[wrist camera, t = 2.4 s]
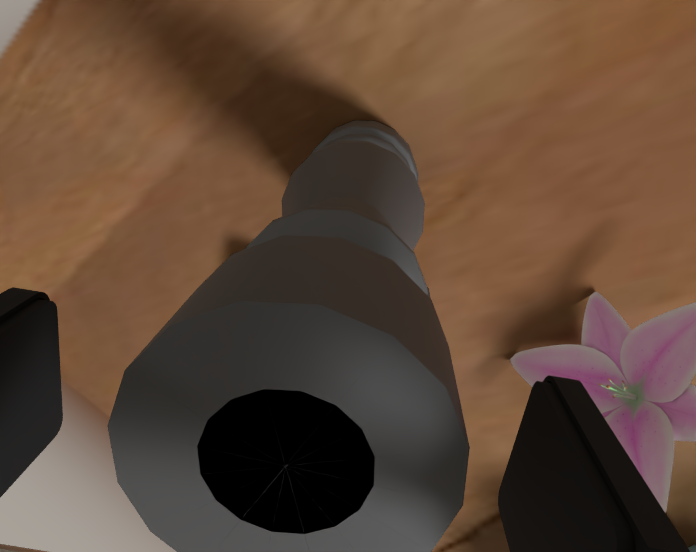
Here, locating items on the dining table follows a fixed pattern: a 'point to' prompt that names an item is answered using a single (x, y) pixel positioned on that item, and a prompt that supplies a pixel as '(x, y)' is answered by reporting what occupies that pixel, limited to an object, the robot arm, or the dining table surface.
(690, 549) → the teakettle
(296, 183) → the candle holder
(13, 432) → the robot arm
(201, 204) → the dining table surface
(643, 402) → the lily
